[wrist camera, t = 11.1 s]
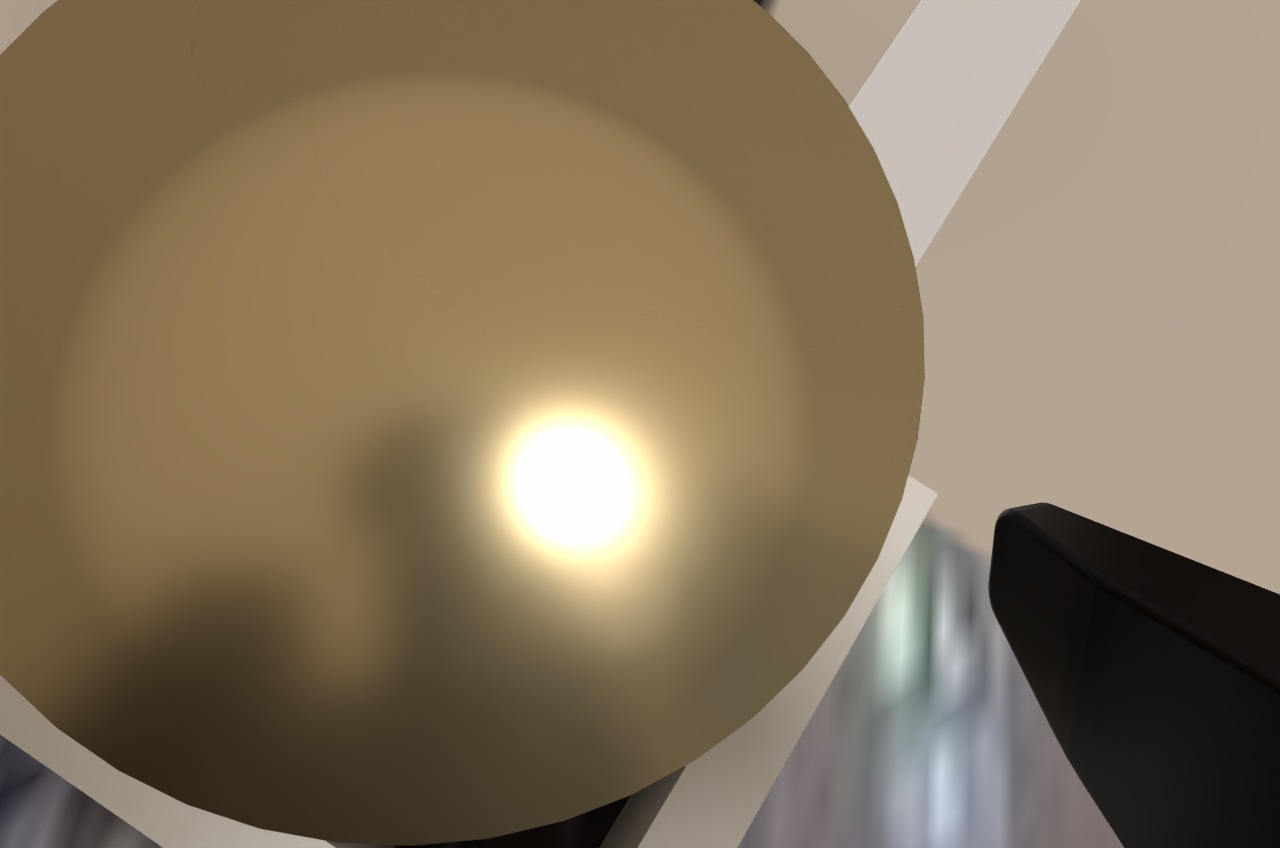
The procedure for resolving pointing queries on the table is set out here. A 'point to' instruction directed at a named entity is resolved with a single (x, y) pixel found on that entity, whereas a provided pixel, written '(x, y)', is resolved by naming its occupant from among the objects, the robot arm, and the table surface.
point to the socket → (756, 752)
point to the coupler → (435, 396)
